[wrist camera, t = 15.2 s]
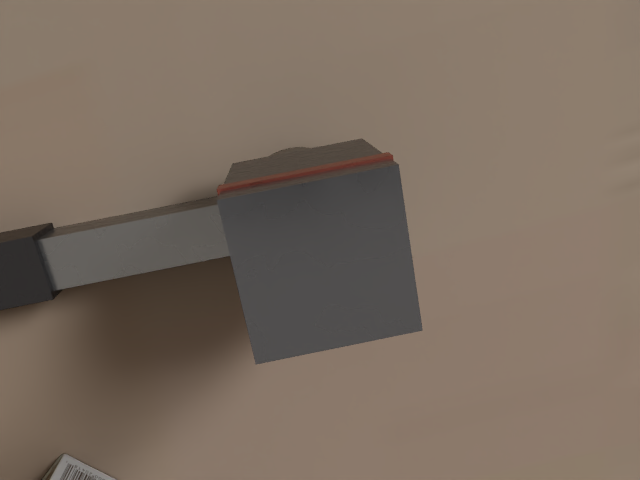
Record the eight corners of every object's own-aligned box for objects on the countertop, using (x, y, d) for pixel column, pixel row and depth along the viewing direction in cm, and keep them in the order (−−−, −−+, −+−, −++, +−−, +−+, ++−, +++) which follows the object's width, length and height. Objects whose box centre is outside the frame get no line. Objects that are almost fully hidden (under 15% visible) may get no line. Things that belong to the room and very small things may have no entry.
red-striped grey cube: (258, 287, 28) (253, 367, 21) (229, 161, 26) (213, 197, 19) (384, 262, 28) (425, 332, 21) (363, 136, 27) (401, 161, 19)
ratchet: (-54, 331, 31) (-162, 417, 23) (-97, 223, 29) (-230, 277, 21) (365, 248, 31) (396, 305, 24) (347, 137, 30) (373, 159, 22)
